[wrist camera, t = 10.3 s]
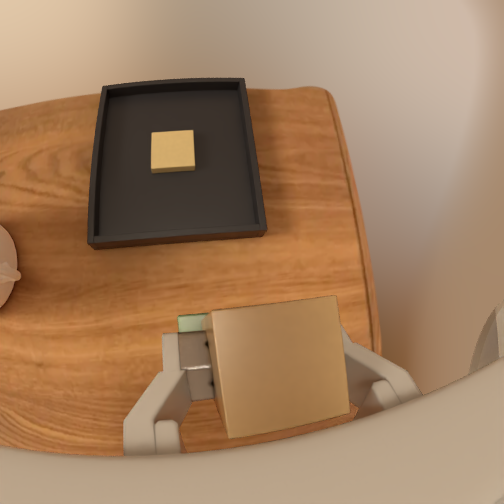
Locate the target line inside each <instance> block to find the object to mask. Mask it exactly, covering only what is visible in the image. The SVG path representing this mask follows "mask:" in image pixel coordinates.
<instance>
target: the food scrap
mask: <svg viewBox="0 0 504 504" xmlns="http://www.w3.org/2000/svg"><path fill="white" fill-rule="evenodd" d="M194 170H195V153H194V134H193V130H184V131H168V132H154V133H152V140H151V171H152V173H165V172H180V171H194Z"/></svg>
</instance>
